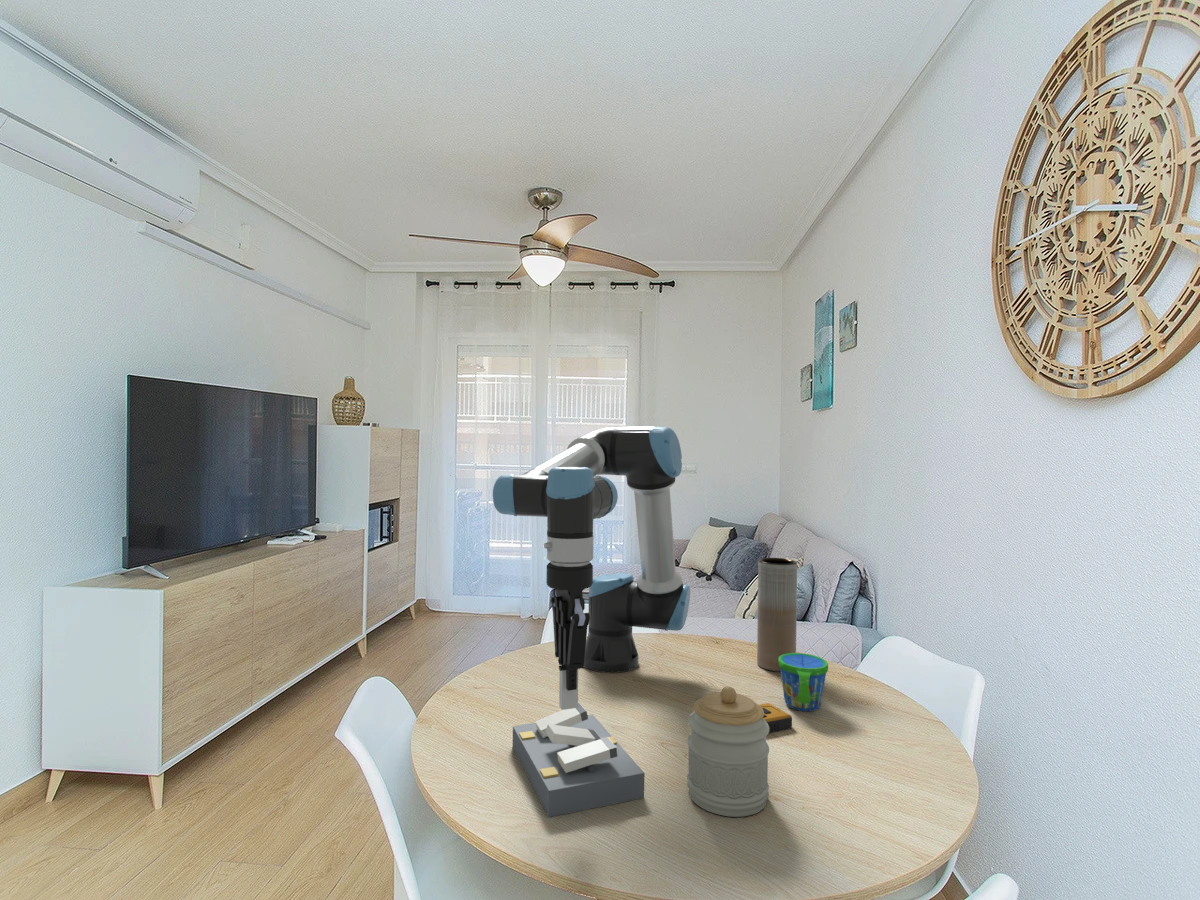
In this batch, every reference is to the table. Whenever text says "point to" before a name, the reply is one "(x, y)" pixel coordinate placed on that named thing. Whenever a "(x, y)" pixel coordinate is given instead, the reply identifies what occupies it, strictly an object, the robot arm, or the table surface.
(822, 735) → the table surface
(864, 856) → the table surface
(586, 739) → the rocker mid
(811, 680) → the snack cup
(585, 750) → the rocker near
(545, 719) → the rocker far
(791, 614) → the vase
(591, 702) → the table surface
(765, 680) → the table surface
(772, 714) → the electronic device
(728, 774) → the jar
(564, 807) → the switch unit
